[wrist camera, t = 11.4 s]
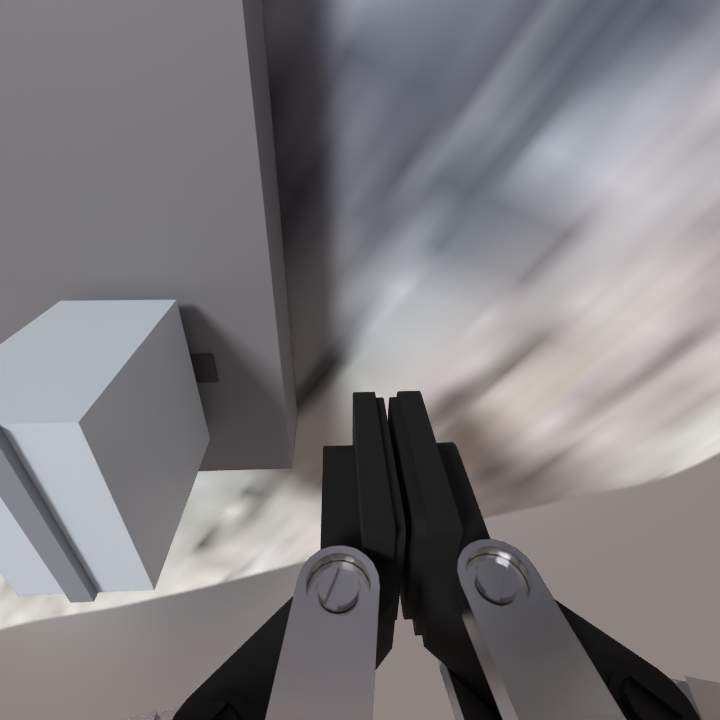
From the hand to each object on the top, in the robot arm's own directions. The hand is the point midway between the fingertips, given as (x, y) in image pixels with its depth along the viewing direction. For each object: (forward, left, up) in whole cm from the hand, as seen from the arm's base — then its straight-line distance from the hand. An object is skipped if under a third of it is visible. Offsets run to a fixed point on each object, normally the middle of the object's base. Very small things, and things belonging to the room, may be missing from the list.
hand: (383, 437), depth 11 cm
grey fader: (0, -7, -3) cm, 7 cm away
